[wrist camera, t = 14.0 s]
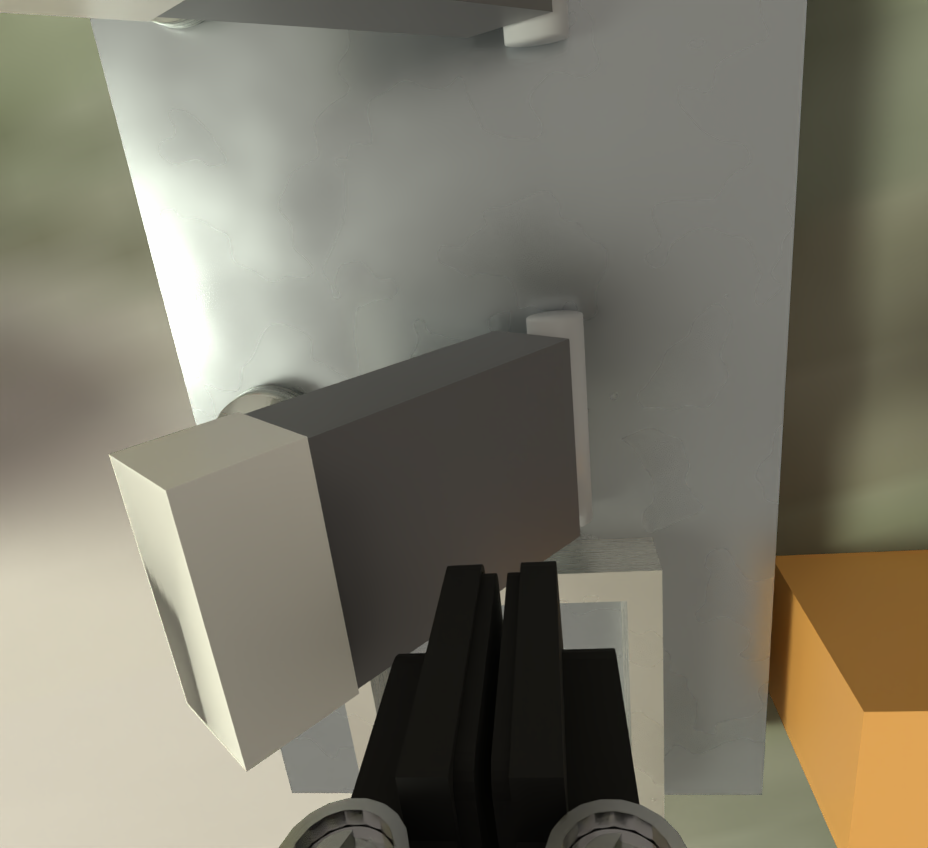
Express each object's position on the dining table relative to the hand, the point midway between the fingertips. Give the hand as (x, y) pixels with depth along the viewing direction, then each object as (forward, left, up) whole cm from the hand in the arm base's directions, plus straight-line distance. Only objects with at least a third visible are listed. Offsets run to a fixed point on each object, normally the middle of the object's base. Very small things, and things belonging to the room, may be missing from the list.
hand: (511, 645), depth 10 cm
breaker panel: (+1, -3, -9) cm, 10 cm away
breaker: (-1, -1, -6) cm, 6 cm away
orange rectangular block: (-9, +7, -9) cm, 14 cm away
